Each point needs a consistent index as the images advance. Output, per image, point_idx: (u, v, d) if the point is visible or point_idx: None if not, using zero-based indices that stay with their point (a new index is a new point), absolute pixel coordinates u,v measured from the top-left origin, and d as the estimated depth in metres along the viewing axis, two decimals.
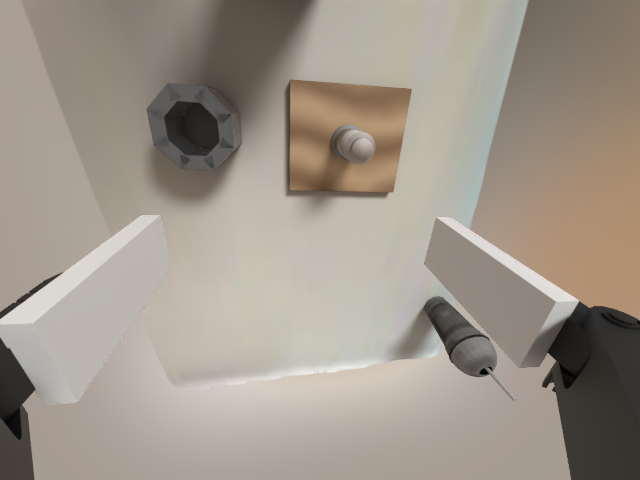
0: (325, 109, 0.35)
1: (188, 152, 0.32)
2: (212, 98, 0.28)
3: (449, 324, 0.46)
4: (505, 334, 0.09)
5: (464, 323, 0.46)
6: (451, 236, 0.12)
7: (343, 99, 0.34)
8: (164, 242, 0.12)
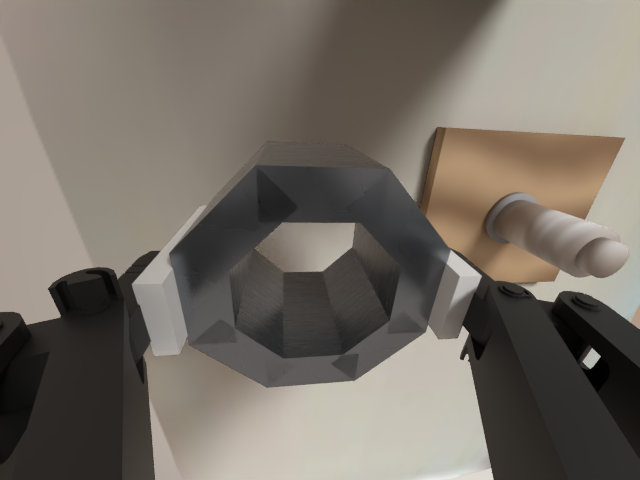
0: (489, 171, 0.21)
1: (280, 329, 0.11)
2: (407, 209, 0.08)
3: None
4: None
5: None
6: None
7: (521, 155, 0.21)
8: None
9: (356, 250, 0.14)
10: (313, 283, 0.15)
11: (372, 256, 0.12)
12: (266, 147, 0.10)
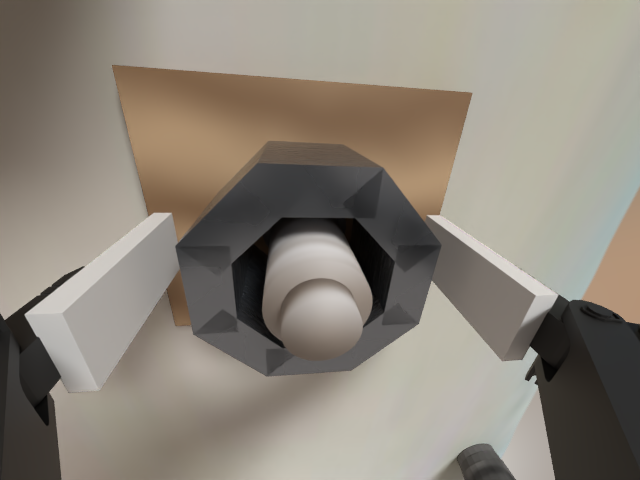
0: (236, 149, 0.13)
1: None
2: (400, 205, 0.08)
3: None
4: (489, 328, 0.09)
5: None
6: (440, 234, 0.12)
7: (285, 121, 0.12)
8: (175, 239, 0.12)
9: (354, 246, 0.15)
10: None
11: (368, 251, 0.12)
12: (267, 146, 0.11)
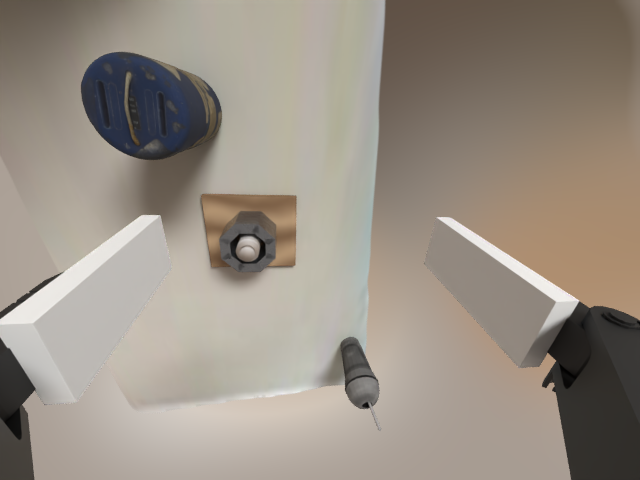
0: (231, 213, 0.46)
1: None
2: (263, 231, 0.42)
3: (350, 364, 0.58)
4: (505, 334, 0.09)
5: (360, 364, 0.57)
6: (451, 236, 0.12)
7: (244, 206, 0.46)
8: (164, 242, 0.12)
9: None
10: None
11: None
12: (238, 215, 0.44)
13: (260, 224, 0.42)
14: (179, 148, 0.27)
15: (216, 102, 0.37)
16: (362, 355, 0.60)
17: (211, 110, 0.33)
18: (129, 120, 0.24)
